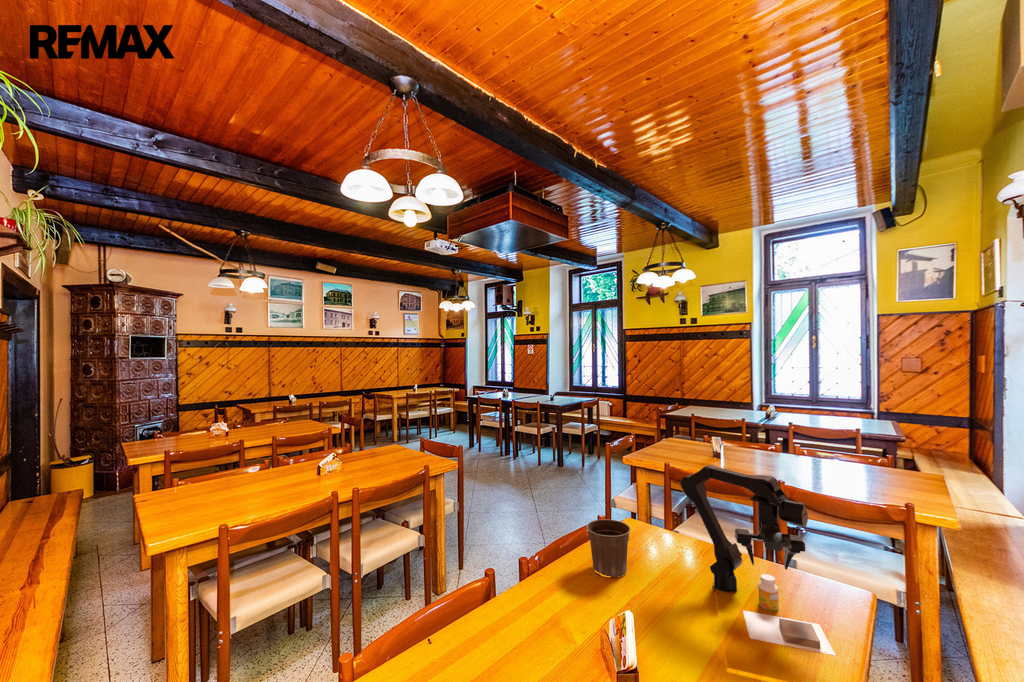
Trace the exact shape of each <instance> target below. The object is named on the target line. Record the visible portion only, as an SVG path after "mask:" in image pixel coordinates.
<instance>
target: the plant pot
mask: <svg viewBox="0 0 1024 682" xmlns="http://www.w3.org/2000/svg"><path fill="white" fill-rule="evenodd" d="M586 530H587V535H588V539H589V541H590V552H591V558H592V566H593V567H594V569H595V570H596V571H597V572H599V573H601V574H603V575H606V576H611V577H613V578H617V577H618V576H622V575H624V574H625V573H626V574H627V566H628V564H627V563H628V550H629V549H628V547H629V546H628V545H629V540H630V533H631V527H630V525H628V524H627V523H625V522H623V521H620V520H616V519H606V518H603V519H601V518H600V519H595V520H592V521H589V522H588V523H587V524H586ZM593 567H592V568H593ZM594 569H593V570H594ZM626 574H625V575H626ZM625 575H624V576H625ZM622 577H623V576H622Z"/></svg>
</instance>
